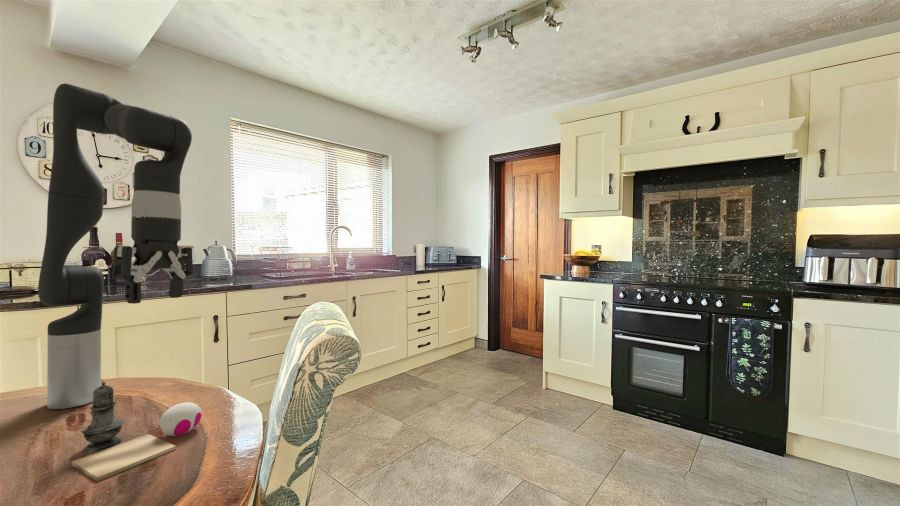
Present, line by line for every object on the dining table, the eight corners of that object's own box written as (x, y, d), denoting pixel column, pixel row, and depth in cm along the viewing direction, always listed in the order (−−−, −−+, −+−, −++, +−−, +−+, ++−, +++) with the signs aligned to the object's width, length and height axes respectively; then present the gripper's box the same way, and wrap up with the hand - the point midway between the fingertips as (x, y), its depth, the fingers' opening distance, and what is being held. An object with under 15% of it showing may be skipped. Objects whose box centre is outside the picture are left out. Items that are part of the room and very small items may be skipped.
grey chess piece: (97, 454, 66) (98, 387, 66) (72, 451, 67) (72, 385, 67) (131, 438, 72) (132, 377, 72) (108, 436, 73) (108, 375, 73)
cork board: (71, 464, 63) (71, 461, 63) (148, 436, 73) (148, 433, 73) (97, 481, 58) (97, 477, 58) (175, 449, 68) (175, 445, 68)
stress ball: (170, 460, 70) (184, 434, 69) (144, 432, 72) (157, 406, 71) (206, 439, 78) (219, 415, 76) (181, 414, 79) (194, 391, 78)
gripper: (173, 219, 79) (172, 295, 79) (100, 212, 65) (99, 304, 65) (204, 219, 78) (203, 296, 78) (136, 212, 64) (135, 306, 64)
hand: (155, 300), depth 71 cm, fingers open, 8 cm apart
